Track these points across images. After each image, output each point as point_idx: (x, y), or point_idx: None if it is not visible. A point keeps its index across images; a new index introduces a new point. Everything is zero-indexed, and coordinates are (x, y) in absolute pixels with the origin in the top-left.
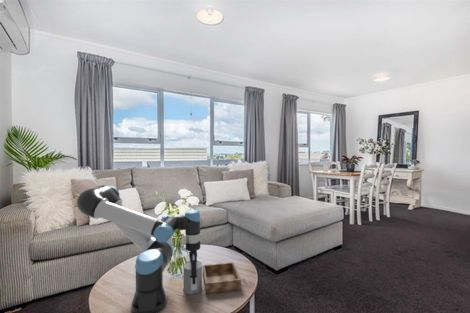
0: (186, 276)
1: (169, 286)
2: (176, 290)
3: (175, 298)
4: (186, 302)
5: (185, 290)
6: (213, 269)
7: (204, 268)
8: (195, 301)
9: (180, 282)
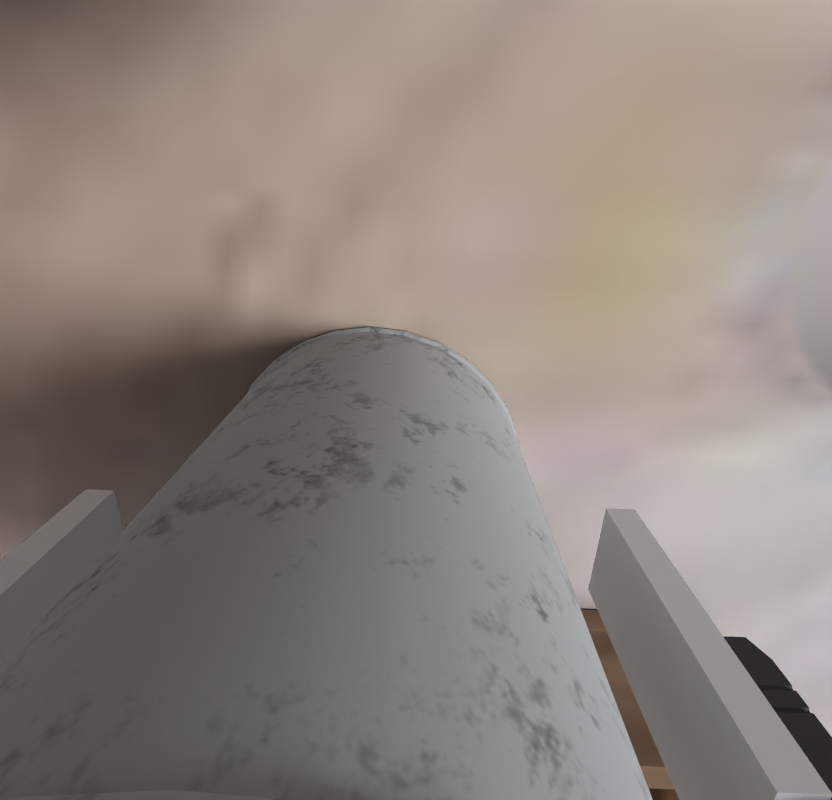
0: (96, 560)
1: (554, 41)
2: (373, 202)
3: (130, 182)
4: (32, 360)
5: (274, 368)
6: (671, 793)
7: (655, 782)
8: (62, 475)
9: (618, 282)
